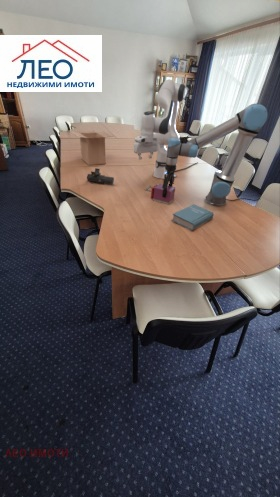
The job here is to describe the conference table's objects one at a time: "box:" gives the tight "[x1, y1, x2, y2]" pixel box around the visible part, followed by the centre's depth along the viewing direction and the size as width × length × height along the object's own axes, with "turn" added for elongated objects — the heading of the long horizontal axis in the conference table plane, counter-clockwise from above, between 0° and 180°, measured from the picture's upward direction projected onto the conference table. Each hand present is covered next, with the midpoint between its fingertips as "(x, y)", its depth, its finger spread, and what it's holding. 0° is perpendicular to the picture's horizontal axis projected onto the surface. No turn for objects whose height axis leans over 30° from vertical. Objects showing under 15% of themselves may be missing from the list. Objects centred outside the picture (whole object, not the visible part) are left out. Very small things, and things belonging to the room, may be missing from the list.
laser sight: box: [86, 168, 115, 185], centre depth 184 cm, size 10×22×10 cm, turn 78°
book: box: [171, 203, 215, 231], centre depth 142 cm, size 23×16×5 cm
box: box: [70, 129, 114, 166], centre depth 229 cm, size 44×36×27 cm
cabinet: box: [152, 183, 176, 205], centre depth 164 cm, size 13×10×10 cm
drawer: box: [144, 184, 159, 199], centre depth 166 cm, size 17×9×8 cm, turn 63°
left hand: (145, 158), depth 164 cm, fingers open, 8 cm apart
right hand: (166, 194), depth 163 cm, fingers closed on cabinet, 10 cm apart
